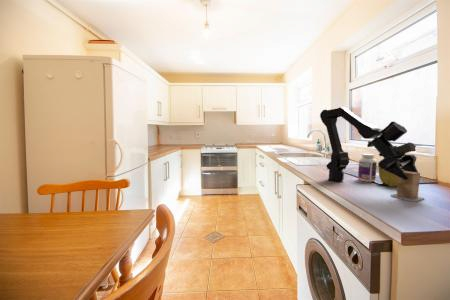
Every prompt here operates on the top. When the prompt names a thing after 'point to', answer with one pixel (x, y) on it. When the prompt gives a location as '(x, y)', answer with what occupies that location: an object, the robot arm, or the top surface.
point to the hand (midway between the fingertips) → (413, 178)
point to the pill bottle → (367, 168)
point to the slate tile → (408, 198)
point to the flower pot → (388, 177)
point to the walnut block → (409, 185)
